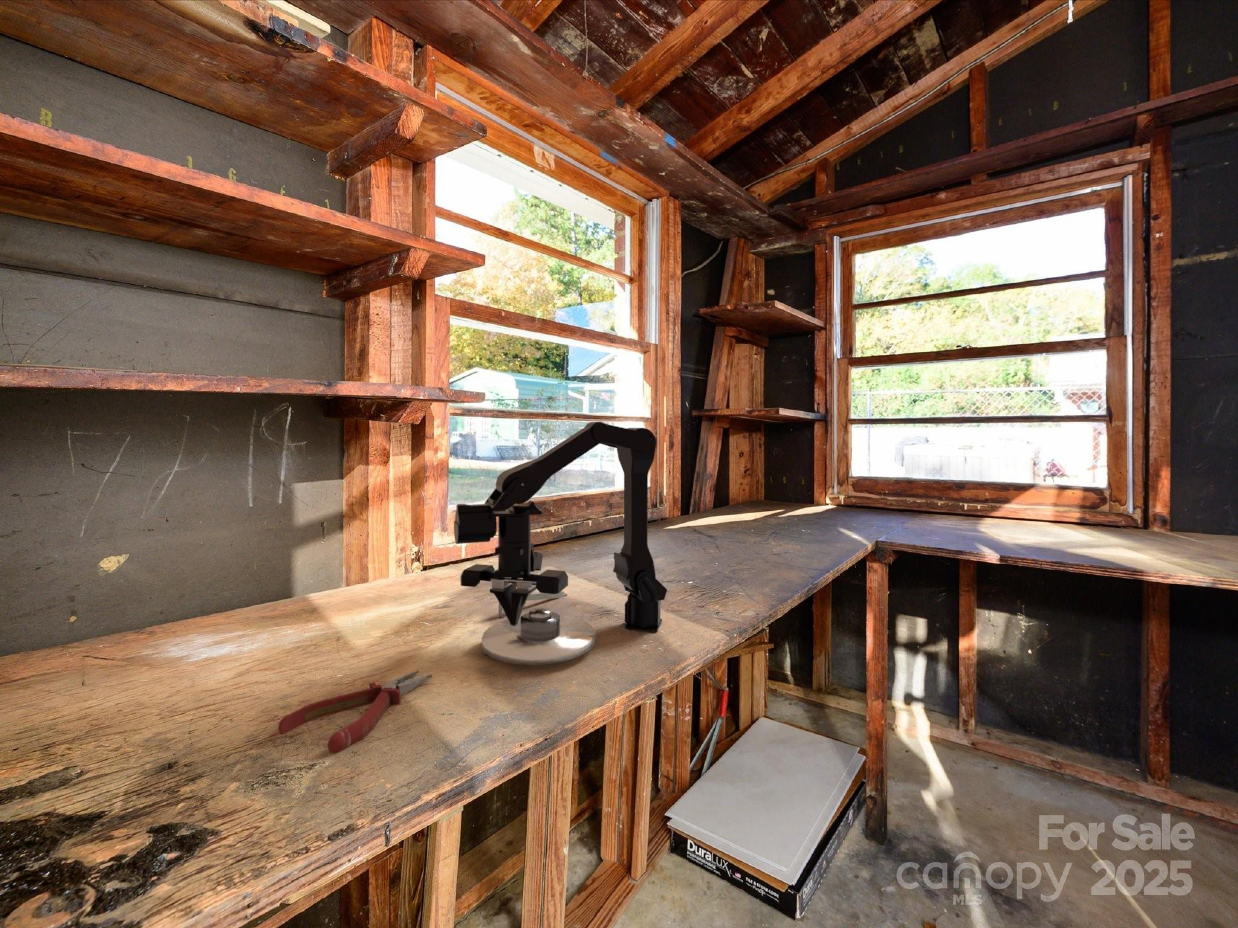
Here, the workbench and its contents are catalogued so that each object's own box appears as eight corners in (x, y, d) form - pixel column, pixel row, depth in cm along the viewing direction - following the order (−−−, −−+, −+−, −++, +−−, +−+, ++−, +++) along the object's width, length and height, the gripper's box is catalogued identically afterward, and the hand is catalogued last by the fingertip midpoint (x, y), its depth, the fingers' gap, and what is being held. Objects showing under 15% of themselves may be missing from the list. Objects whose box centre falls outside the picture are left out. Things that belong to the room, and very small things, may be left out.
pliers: (453, 688, 83) (453, 671, 83) (335, 759, 64) (335, 738, 64) (398, 673, 88) (398, 658, 87) (274, 736, 69) (273, 717, 69)
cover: (565, 628, 99) (565, 606, 99) (551, 643, 93) (551, 618, 92) (530, 625, 101) (530, 602, 101) (514, 639, 94) (513, 615, 94)
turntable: (607, 626, 104) (607, 619, 104) (575, 670, 85) (575, 662, 85) (511, 617, 109) (511, 610, 109) (460, 657, 90) (460, 648, 90)
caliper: (501, 619, 112) (501, 589, 112) (498, 618, 113) (498, 589, 113) (567, 596, 129) (567, 570, 128) (564, 595, 129) (564, 569, 129)
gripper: (577, 534, 103) (577, 615, 104) (488, 529, 107) (488, 606, 108) (557, 546, 92) (557, 636, 93) (458, 540, 96) (459, 625, 97)
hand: (514, 624), depth 98 cm, fingers closed
